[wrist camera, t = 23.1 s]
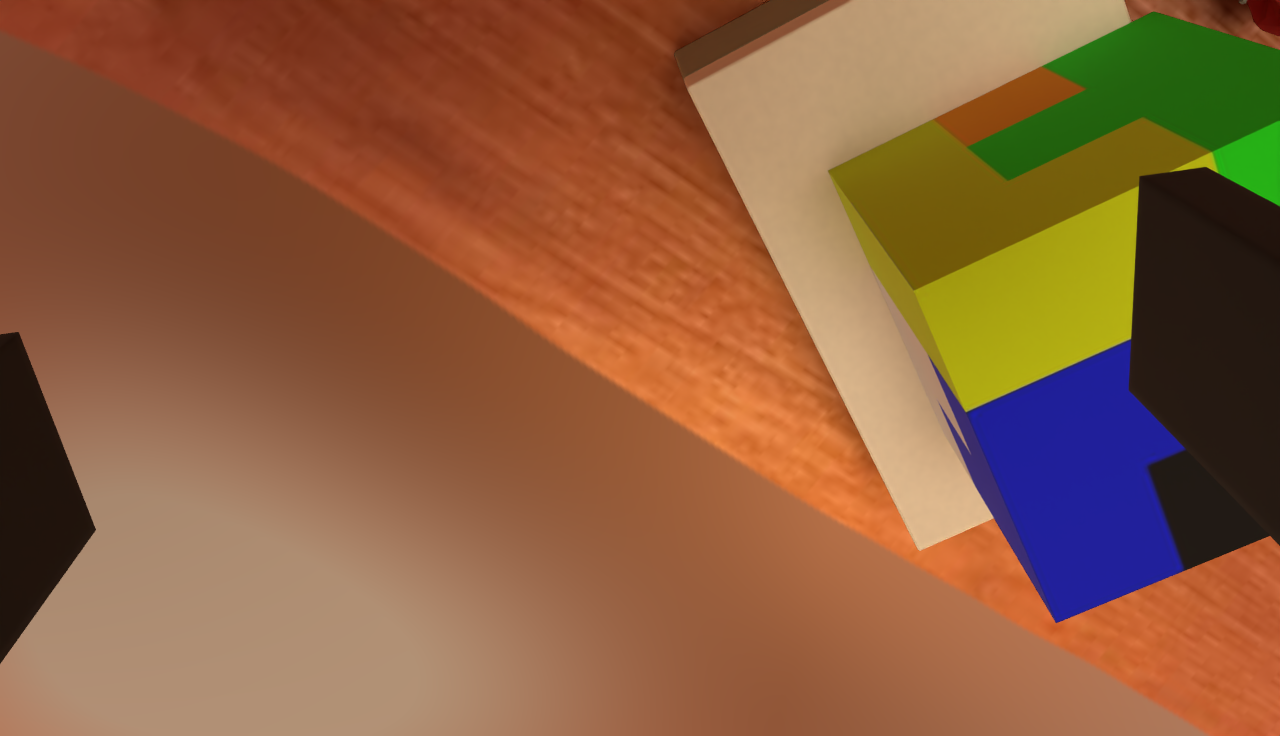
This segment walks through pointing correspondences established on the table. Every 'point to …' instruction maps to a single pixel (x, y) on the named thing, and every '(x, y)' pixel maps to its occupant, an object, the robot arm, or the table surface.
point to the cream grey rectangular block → (841, 130)
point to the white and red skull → (1265, 14)
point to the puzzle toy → (1065, 292)
